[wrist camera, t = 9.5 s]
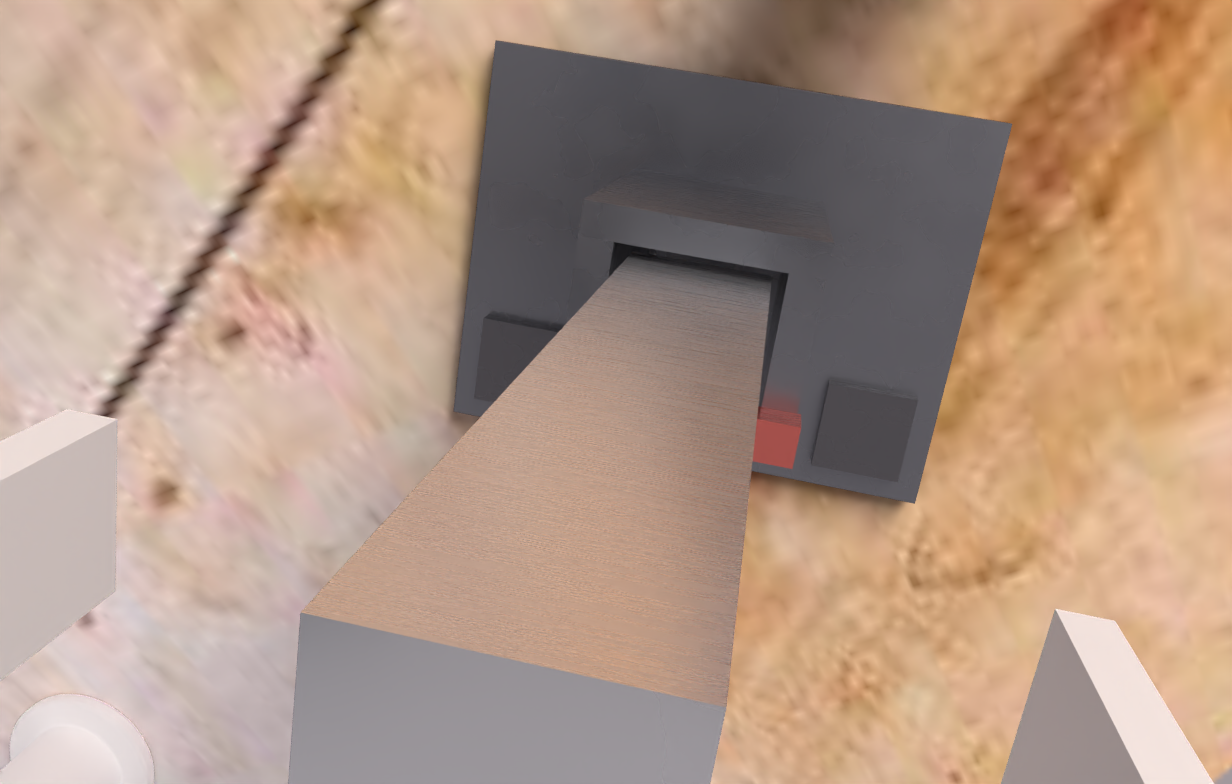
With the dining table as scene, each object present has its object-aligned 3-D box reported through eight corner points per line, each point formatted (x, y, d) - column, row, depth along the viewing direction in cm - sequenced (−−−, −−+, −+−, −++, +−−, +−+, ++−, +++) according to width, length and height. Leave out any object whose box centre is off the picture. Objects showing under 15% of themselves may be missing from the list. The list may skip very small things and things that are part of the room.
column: (607, 411, 32) (270, 1018, 12) (633, 251, 31) (300, 611, 10) (739, 437, 32) (639, 1117, 11) (772, 275, 30) (726, 708, 10)
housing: (460, 404, 43) (340, 522, 32) (502, 41, 39) (381, 26, 28) (912, 493, 42) (958, 654, 30) (1006, 122, 37) (1102, 143, 26)
